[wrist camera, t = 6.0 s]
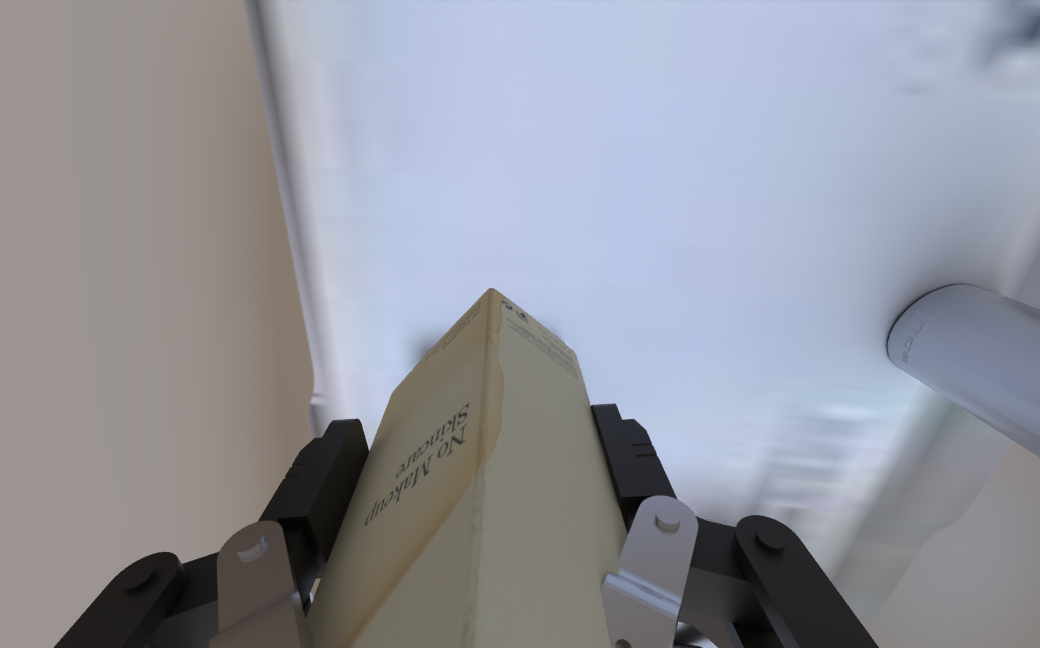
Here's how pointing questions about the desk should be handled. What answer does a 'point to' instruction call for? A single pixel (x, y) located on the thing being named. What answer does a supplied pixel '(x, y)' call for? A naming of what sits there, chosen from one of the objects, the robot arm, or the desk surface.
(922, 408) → the desk surface
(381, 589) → the skincare box
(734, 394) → the desk surface
